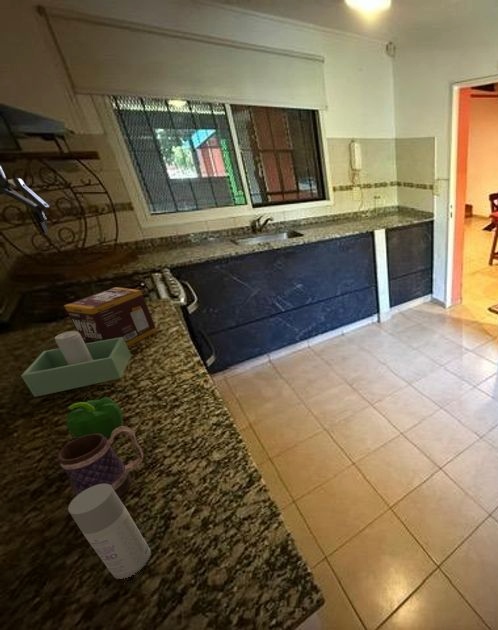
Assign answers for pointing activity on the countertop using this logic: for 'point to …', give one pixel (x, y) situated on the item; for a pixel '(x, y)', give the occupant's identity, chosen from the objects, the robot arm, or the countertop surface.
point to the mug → (98, 462)
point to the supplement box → (112, 316)
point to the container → (110, 530)
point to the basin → (77, 368)
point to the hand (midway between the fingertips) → (16, 234)
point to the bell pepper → (94, 418)
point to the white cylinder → (73, 347)
